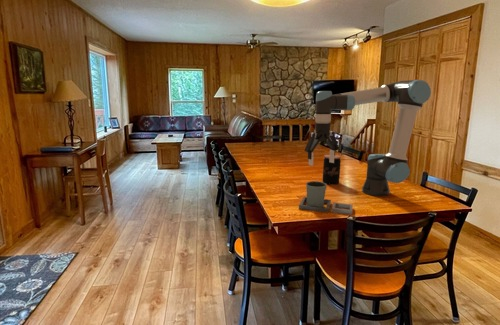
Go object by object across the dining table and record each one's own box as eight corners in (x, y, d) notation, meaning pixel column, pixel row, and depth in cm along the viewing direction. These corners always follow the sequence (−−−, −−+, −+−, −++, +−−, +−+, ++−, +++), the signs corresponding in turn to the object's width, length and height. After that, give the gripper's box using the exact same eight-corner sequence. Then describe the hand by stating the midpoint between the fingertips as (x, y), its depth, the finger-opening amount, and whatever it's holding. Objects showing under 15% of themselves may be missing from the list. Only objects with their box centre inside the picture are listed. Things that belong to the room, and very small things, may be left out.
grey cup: (322, 202, 167) (323, 181, 164) (327, 209, 157) (328, 186, 154) (303, 202, 166) (304, 181, 164) (307, 209, 156) (308, 186, 154)
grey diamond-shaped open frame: (352, 208, 159) (352, 204, 158) (351, 214, 150) (352, 210, 149) (333, 206, 162) (333, 202, 161) (331, 212, 153) (332, 208, 152)
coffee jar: (321, 184, 202) (322, 156, 199) (323, 180, 212) (325, 154, 209) (338, 185, 199) (340, 158, 195) (339, 181, 209) (341, 155, 205)
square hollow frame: (330, 203, 166) (331, 199, 165) (328, 212, 152) (328, 208, 152) (303, 200, 170) (303, 196, 170) (298, 209, 157) (299, 205, 157)
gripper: (336, 120, 166) (334, 160, 170) (298, 123, 154) (297, 165, 159) (347, 121, 159) (344, 162, 164) (307, 124, 148) (306, 168, 152)
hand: (321, 163), depth 161 cm, fingers open, 13 cm apart
